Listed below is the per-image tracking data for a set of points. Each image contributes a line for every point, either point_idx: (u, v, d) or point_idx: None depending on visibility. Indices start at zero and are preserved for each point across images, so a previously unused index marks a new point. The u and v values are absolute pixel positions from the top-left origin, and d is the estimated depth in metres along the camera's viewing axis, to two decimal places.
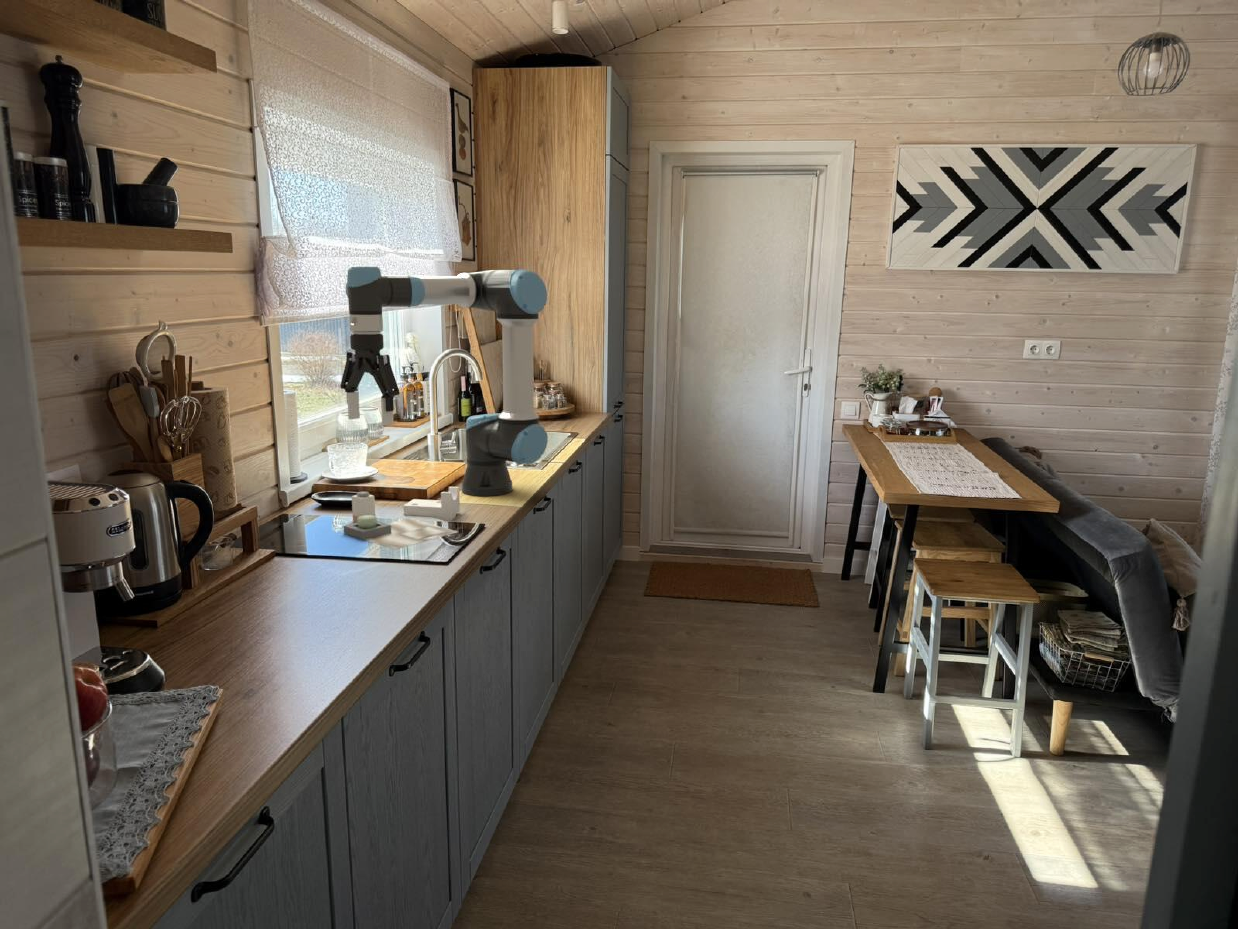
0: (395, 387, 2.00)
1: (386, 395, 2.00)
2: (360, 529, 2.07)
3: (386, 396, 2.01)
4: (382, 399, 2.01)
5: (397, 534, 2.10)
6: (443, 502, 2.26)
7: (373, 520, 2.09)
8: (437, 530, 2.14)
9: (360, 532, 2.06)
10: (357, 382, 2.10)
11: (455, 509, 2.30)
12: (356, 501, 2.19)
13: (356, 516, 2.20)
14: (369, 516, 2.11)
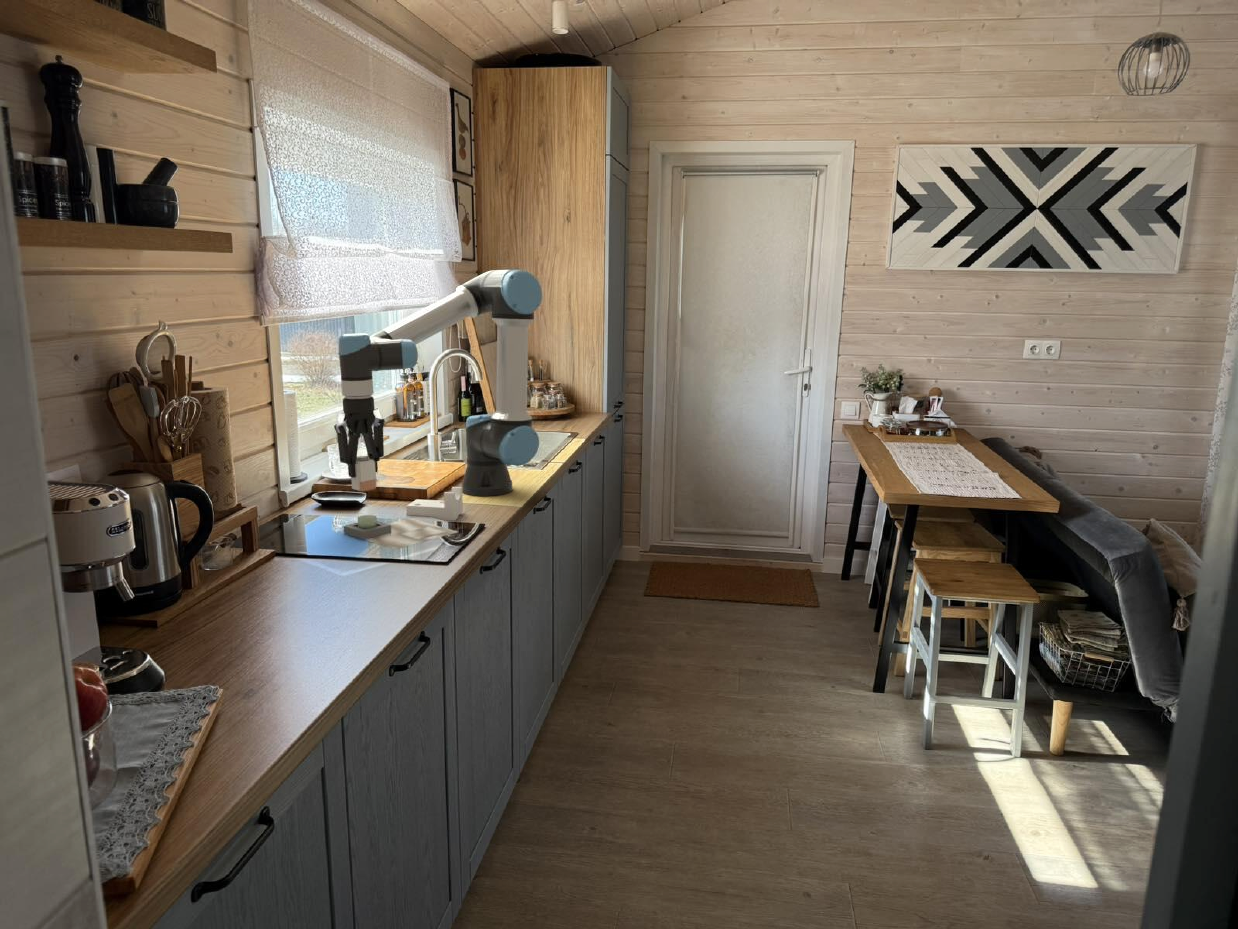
0: (343, 457, 2.13)
1: None
2: (360, 529, 2.07)
3: None
4: None
5: (397, 534, 2.10)
6: (446, 503, 2.26)
7: (373, 520, 2.09)
8: (437, 530, 2.14)
9: (360, 532, 2.06)
10: (369, 448, 2.19)
11: (458, 509, 2.30)
12: None
13: None
14: (369, 516, 2.11)
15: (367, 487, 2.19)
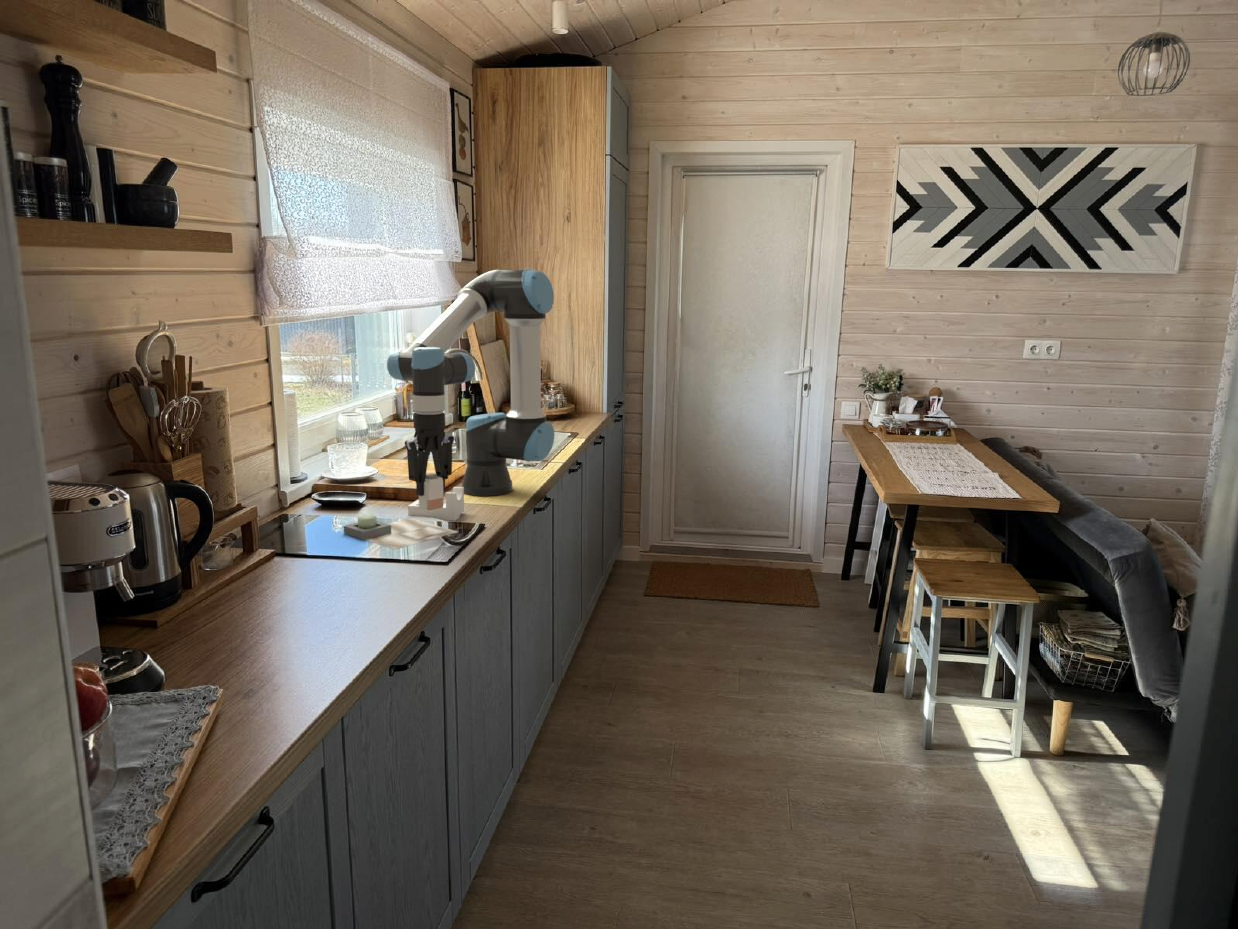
0: (412, 474, 2.06)
1: (415, 480, 2.09)
2: (360, 529, 2.07)
3: (415, 481, 2.09)
4: None
5: (397, 534, 2.10)
6: (448, 503, 2.26)
7: (373, 520, 2.09)
8: (437, 530, 2.14)
9: (360, 532, 2.06)
10: (438, 466, 2.12)
11: (460, 509, 2.30)
12: None
13: None
14: (369, 516, 2.11)
15: (435, 505, 2.11)
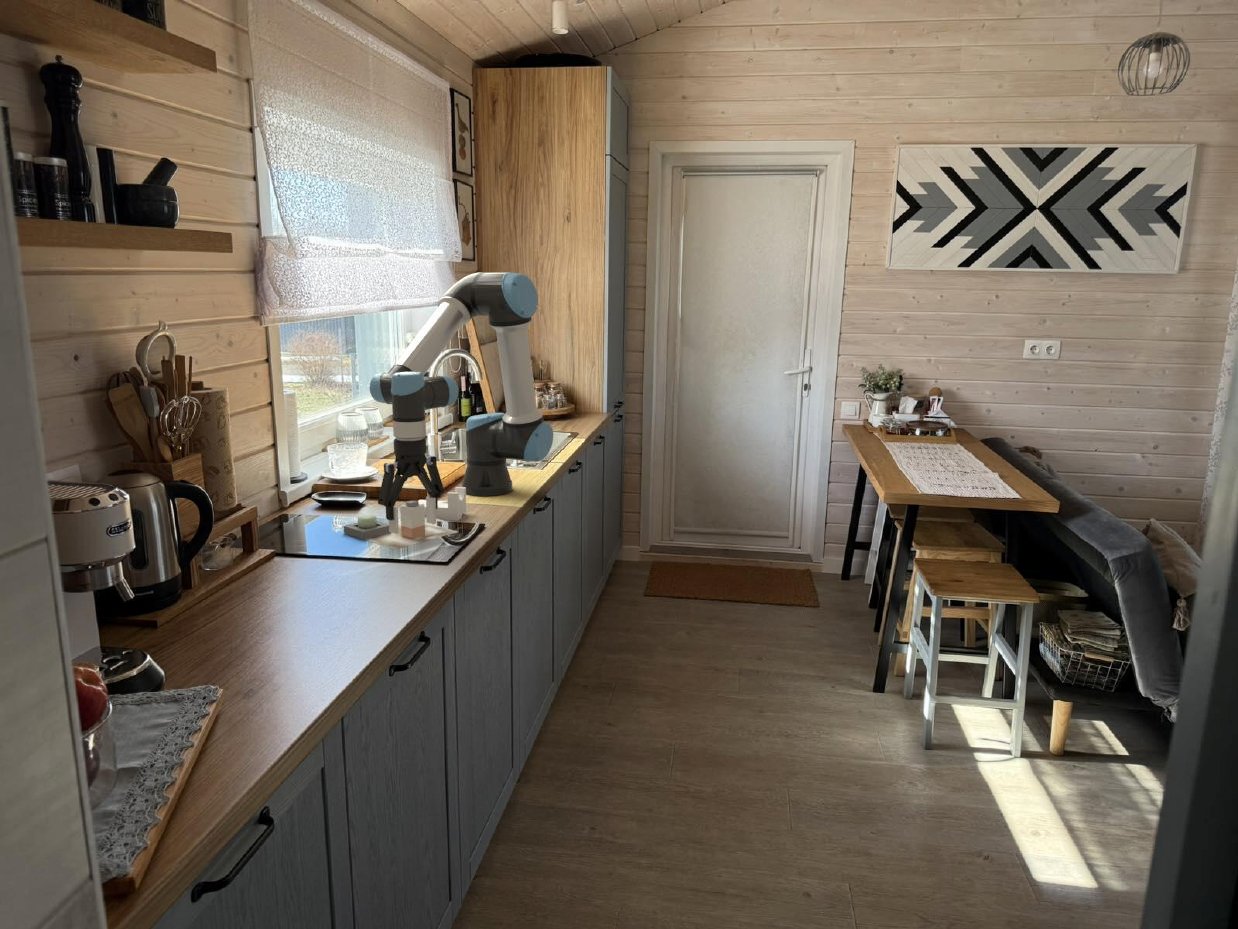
0: (383, 498, 2.00)
1: None
2: (360, 529, 2.07)
3: None
4: None
5: (397, 534, 2.10)
6: (450, 503, 2.26)
7: (373, 520, 2.09)
8: (437, 530, 2.14)
9: (360, 532, 2.06)
10: (428, 487, 2.10)
11: (462, 509, 2.30)
12: (405, 511, 2.07)
13: (405, 527, 2.08)
14: (369, 516, 2.11)
15: (417, 533, 2.08)
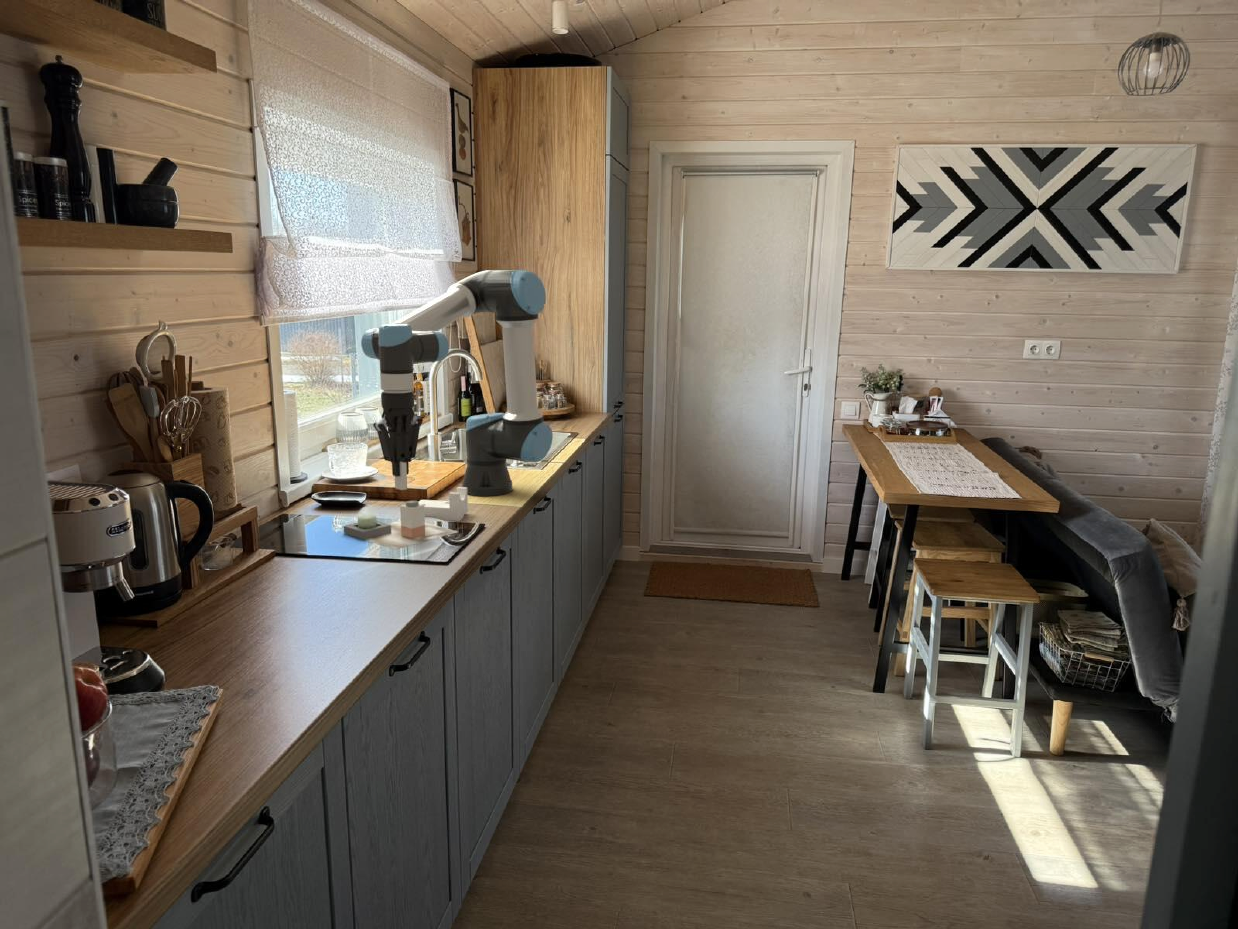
0: (387, 455, 2.02)
1: None
2: (360, 529, 2.07)
3: (391, 461, 2.05)
4: None
5: (397, 534, 2.10)
6: (451, 503, 2.26)
7: (373, 520, 2.09)
8: (437, 530, 2.14)
9: (360, 532, 2.06)
10: (403, 447, 2.05)
11: (464, 510, 2.30)
12: (405, 511, 2.07)
13: (405, 527, 2.08)
14: (369, 516, 2.11)
15: (417, 533, 2.08)
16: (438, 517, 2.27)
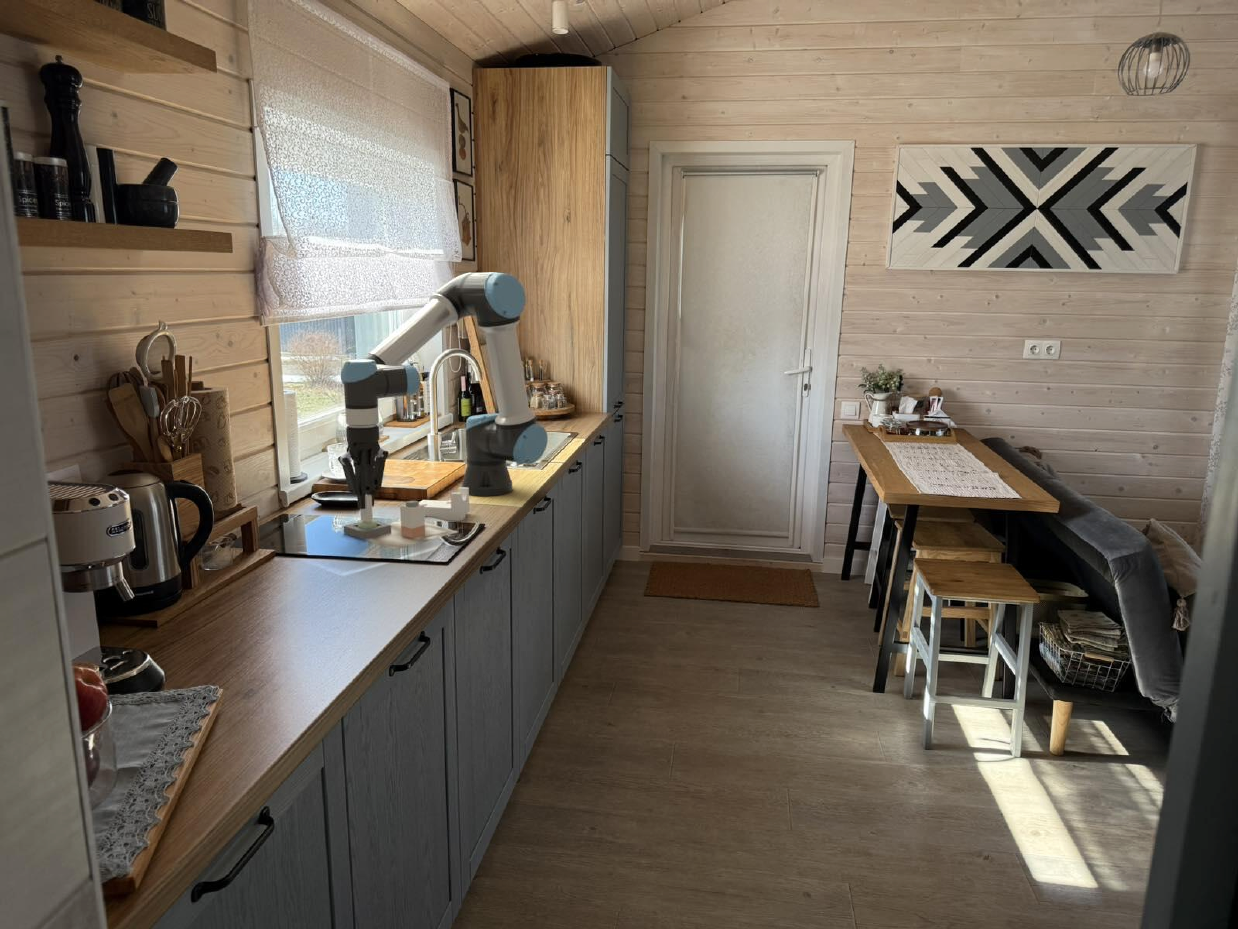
0: (352, 489, 2.05)
1: None
2: (360, 529, 2.07)
3: None
4: None
5: (397, 534, 2.10)
6: (453, 503, 2.25)
7: (373, 524, 2.09)
8: (437, 530, 2.14)
9: (360, 532, 2.06)
10: (368, 480, 2.08)
11: (465, 510, 2.30)
12: (405, 511, 2.07)
13: (405, 527, 2.08)
14: None
15: (417, 533, 2.08)
16: (440, 517, 2.27)
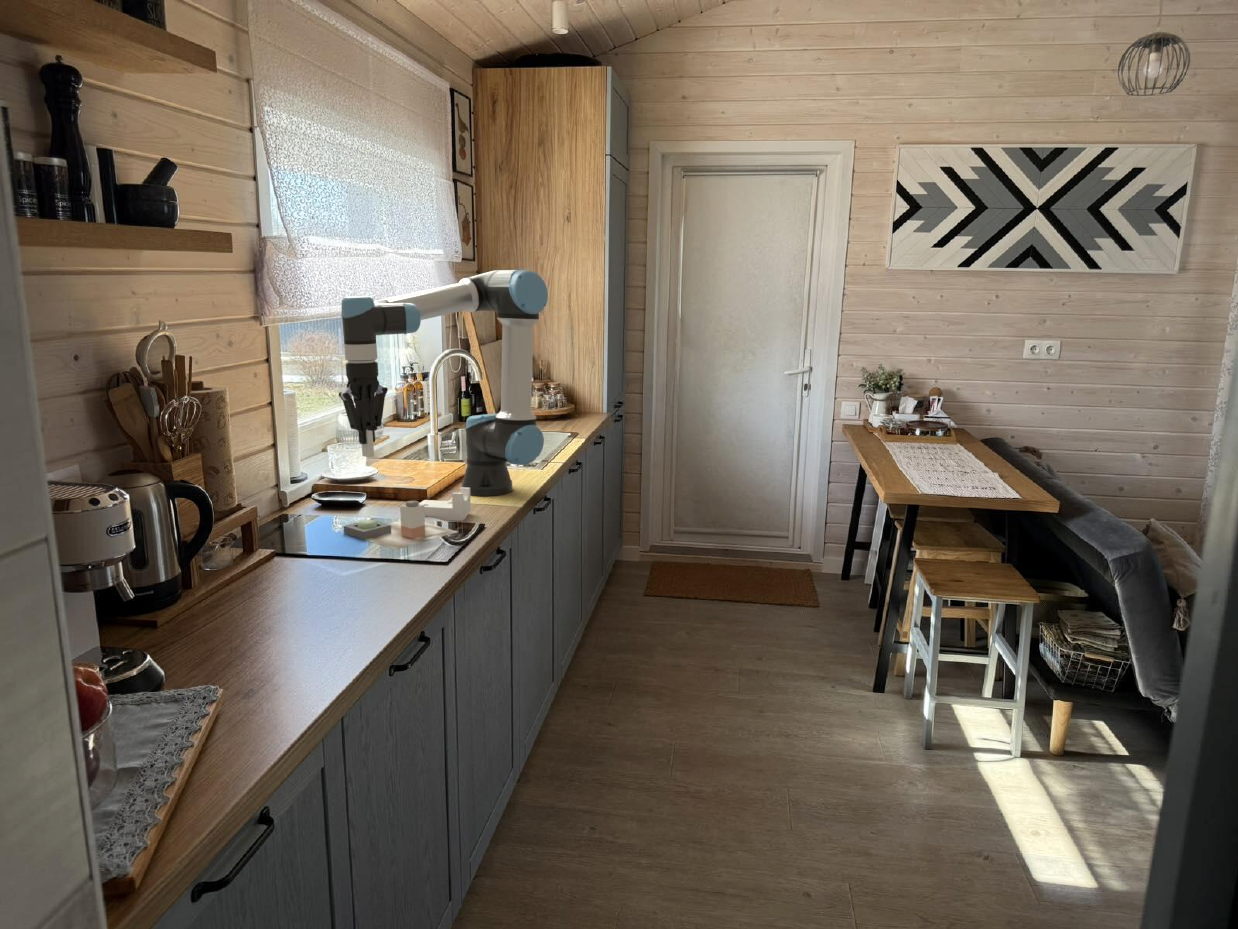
0: (353, 424, 2.09)
1: (357, 429, 2.12)
2: (360, 529, 2.07)
3: (358, 430, 2.12)
4: None
5: (397, 534, 2.10)
6: (455, 503, 2.25)
7: (373, 525, 2.09)
8: (437, 530, 2.14)
9: (360, 532, 2.06)
10: (369, 416, 2.12)
11: (466, 510, 2.30)
12: (405, 511, 2.07)
13: (405, 527, 2.08)
14: (369, 521, 2.11)
15: (417, 533, 2.08)
16: (441, 517, 2.27)
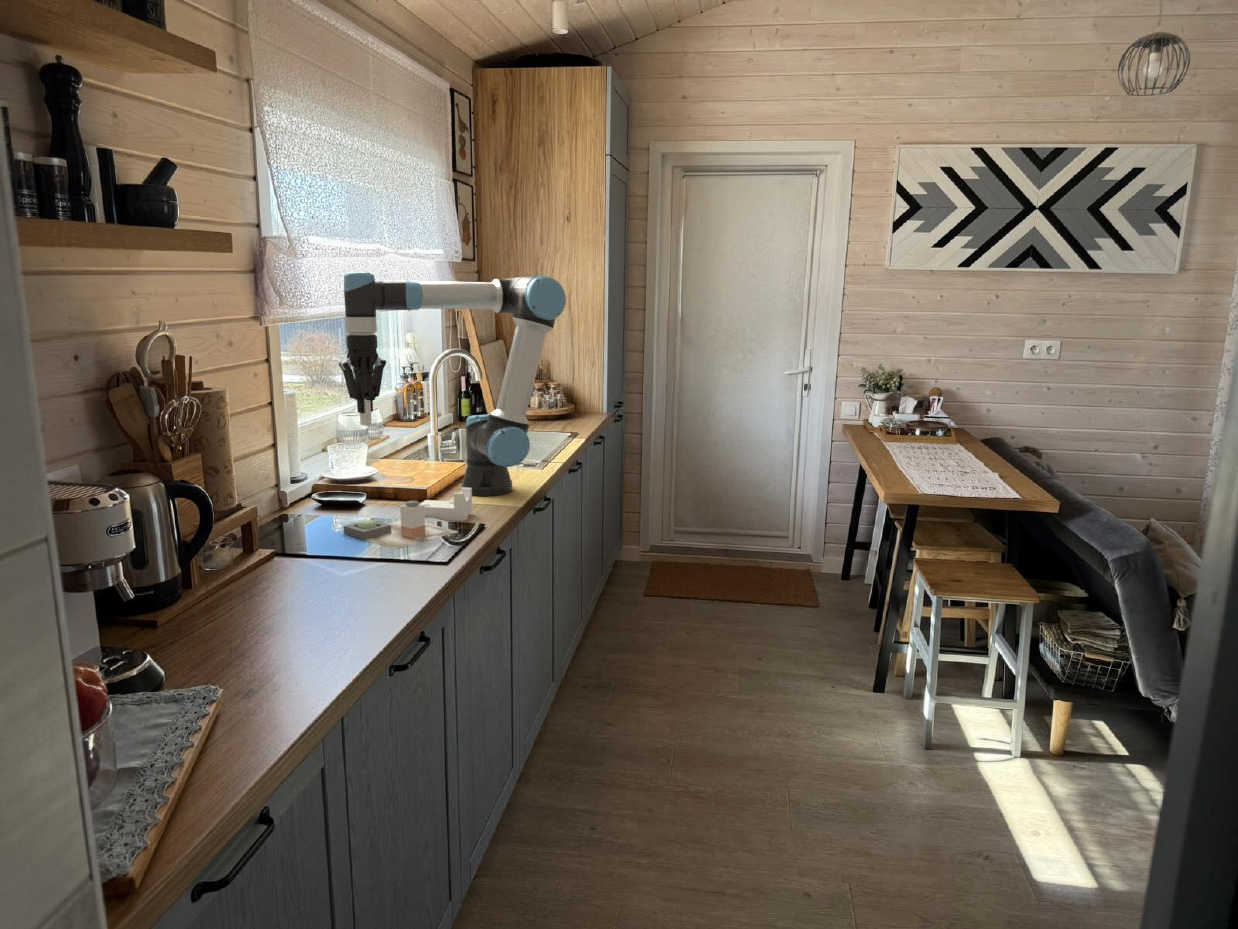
0: (352, 393, 2.20)
1: (356, 399, 2.23)
2: (360, 529, 2.07)
3: (357, 399, 2.23)
4: None
5: (397, 534, 2.10)
6: (456, 503, 2.25)
7: (373, 525, 2.09)
8: (437, 530, 2.14)
9: (360, 532, 2.06)
10: (367, 386, 2.23)
11: (468, 510, 2.29)
12: (405, 511, 2.07)
13: (405, 527, 2.08)
14: (369, 521, 2.11)
15: (417, 533, 2.08)
16: (442, 517, 2.27)
